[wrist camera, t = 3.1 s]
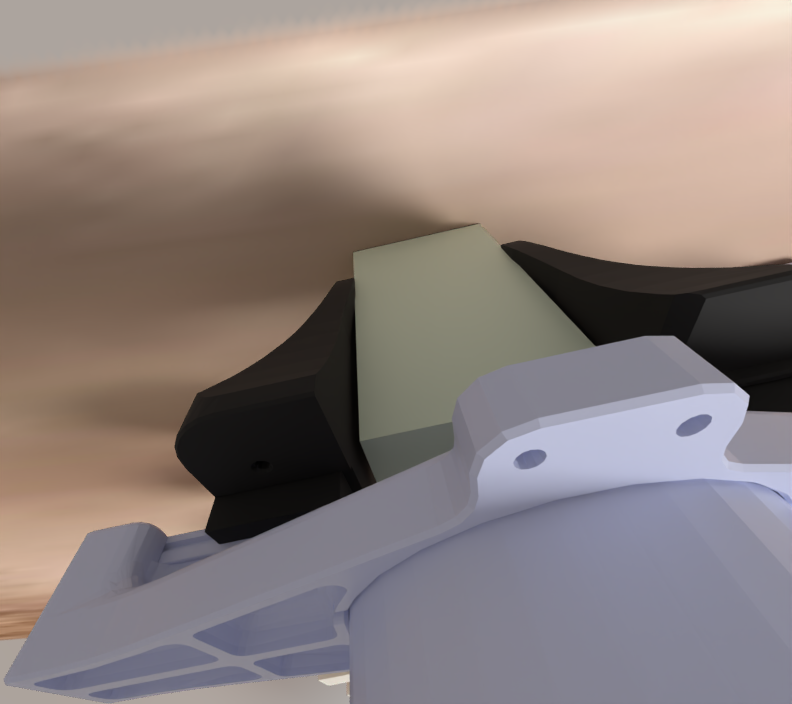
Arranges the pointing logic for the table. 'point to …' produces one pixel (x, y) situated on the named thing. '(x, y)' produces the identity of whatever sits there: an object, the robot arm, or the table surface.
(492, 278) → the lead tile
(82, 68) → the table surface
